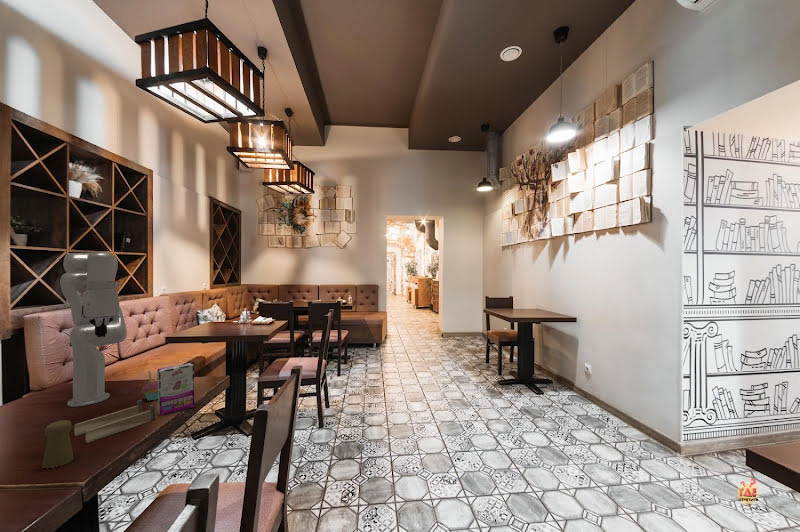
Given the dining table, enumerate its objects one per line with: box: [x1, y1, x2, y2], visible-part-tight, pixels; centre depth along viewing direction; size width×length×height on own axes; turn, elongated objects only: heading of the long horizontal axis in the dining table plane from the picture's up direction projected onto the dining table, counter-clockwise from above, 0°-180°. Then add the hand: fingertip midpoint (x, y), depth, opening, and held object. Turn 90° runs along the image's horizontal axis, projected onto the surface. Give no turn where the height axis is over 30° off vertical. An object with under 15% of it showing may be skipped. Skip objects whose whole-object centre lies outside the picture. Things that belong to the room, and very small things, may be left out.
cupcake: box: [141, 371, 158, 402], centre depth 136 cm, size 9×8×12 cm
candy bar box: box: [156, 362, 196, 416], centre depth 124 cm, size 11×5×16 cm, turn 134°
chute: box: [73, 399, 156, 444], centre depth 110 cm, size 10×18×5 cm, turn 150°
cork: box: [41, 419, 74, 470], centre depth 90 cm, size 6×6×11 cm
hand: (100, 336), depth 120 cm, fingers closed
